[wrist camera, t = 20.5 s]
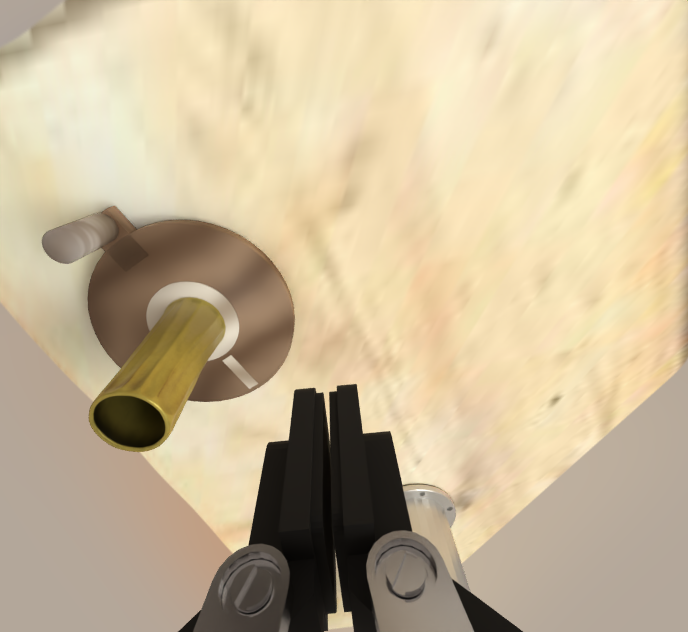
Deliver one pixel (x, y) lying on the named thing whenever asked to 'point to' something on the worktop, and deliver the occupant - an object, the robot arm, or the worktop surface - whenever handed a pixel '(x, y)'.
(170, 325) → the vase
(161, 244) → the turntable
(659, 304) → the worktop surface
